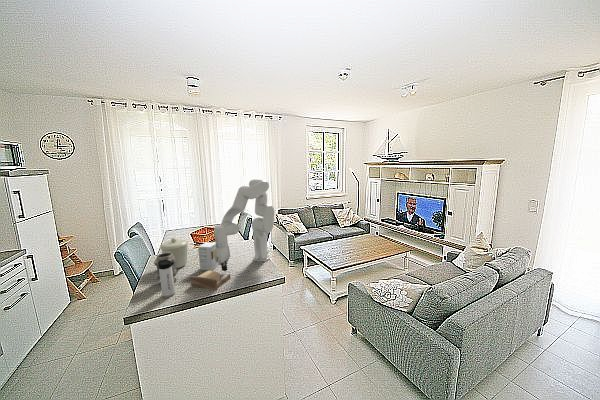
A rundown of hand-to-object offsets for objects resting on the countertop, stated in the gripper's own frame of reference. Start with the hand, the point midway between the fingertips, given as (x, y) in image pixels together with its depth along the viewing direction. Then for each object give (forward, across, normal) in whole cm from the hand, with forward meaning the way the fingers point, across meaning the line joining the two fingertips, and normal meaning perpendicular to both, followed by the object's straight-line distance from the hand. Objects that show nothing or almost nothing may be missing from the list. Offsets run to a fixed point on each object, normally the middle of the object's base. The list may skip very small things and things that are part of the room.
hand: (224, 270), depth 159 cm
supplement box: (+2, -4, -16) cm, 17 cm away
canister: (+2, +1, -41) cm, 41 cm away
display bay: (+2, +12, 0) cm, 12 cm away
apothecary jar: (+2, +21, -27) cm, 34 cm away
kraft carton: (+2, +13, -2) cm, 13 cm away
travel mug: (+1, +32, -14) cm, 35 cm away
